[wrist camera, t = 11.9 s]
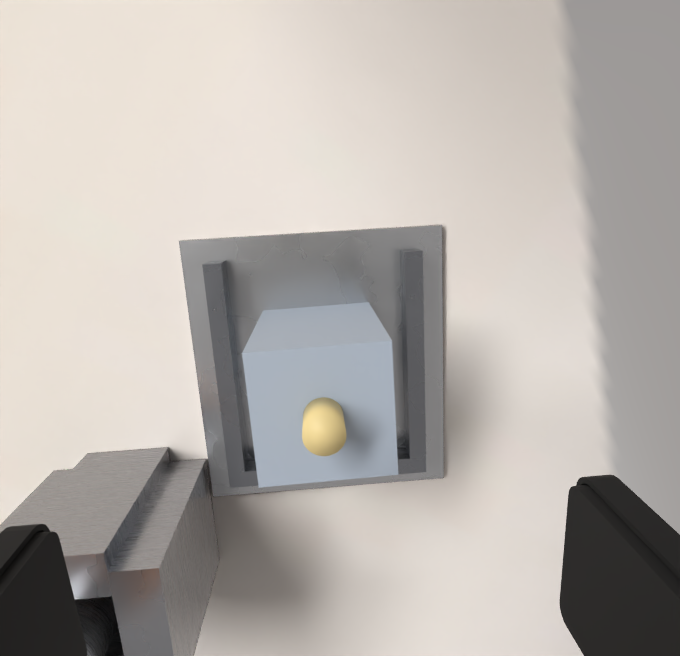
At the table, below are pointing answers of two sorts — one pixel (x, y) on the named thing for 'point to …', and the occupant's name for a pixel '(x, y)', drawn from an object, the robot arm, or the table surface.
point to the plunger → (97, 623)
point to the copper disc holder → (135, 543)
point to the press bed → (308, 291)
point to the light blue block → (321, 395)
